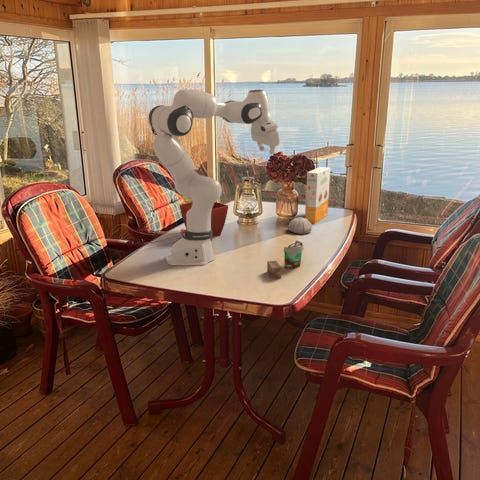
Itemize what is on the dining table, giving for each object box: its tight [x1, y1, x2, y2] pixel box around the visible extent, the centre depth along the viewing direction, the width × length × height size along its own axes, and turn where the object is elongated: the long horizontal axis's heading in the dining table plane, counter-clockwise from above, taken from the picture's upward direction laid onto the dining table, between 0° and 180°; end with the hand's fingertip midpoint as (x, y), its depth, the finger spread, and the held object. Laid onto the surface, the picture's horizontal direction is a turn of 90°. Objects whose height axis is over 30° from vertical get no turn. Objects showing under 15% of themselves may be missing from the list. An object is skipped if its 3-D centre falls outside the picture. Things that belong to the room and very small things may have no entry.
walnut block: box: [266, 260, 283, 280], centre depth 201 cm, size 4×8×5 cm, turn 12°
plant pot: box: [179, 201, 229, 238], centre depth 254 cm, size 19×19×17 cm
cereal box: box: [304, 166, 331, 225], centre depth 285 cm, size 22×6×30 cm, turn 151°
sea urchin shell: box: [287, 216, 313, 235], centre depth 263 cm, size 13×14×8 cm
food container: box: [283, 240, 305, 269], centre depth 211 cm, size 12×6×10 cm, turn 148°
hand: (267, 152), depth 230 cm, fingers open, 8 cm apart
